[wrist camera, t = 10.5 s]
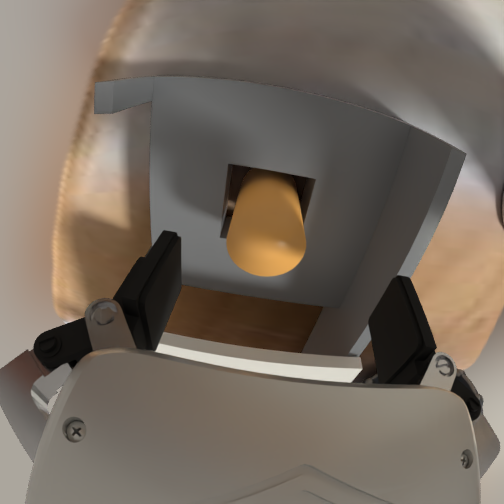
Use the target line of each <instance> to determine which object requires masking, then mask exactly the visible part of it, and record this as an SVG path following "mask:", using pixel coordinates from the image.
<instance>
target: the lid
mask: <svg viewBox="0 0 504 504" xmlns="http://www.w3.org/2000/svg"><path fill="white" fill-rule="evenodd" d="M155 352H158V353H163V354H168V355H172V356H177V357H181V358H185V359H190V360H195V361H199V362H204V363H209V364H214V365H219V366H224V367H229V368H235V369H240V370H246V371H252V372H258V373H265V374H272V375H279V376H286V377H294V378H303V379H312V380H323V381H335V382H349V383H351V382H352V381H353V380H354V378H355V377H356V376H357V375H358V374H359V372H360V371H361V370H362V369H363V368H362V363H361V358H360V357H343V356H327V355H314V354H303V353H293V352H283V351H275V350H266V349H259V348H251V347H244V346H238V345H231V344H225V343H219V342H213V341H207V340H202V339H196V338H191V337H186V336H181V335H176V334H171V333H167V332H163V334H162V337H161V339H160V342H159V344H158V347H157V349H156V351H155Z"/></svg>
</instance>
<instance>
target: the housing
mask: <svg viewBox="0 0 504 504" xmlns="http://www.w3.org/2000/svg"><path fill="white" fill-rule="evenodd" d="M150 101H152V110H151V129H150V219H151V238H152V246H153V245H154V243H155V242H156V240H157V239H158V237H159V236H160V234H161V233H162V232H163V230H167V231H172V232H177V234H178V236H180V237H181V269H182V285H186V286H192V287H197V288H203V289H209V290H215V291H220V292H226V293H232V294H239V295H245V296H251V297H258V298H264V299H271V300H278V301H285V302H292V303H300V304H307V305H315V306H323V309H322V311H321V313H320V316H319V318H318V320H317V322H316V324H315V326H314V328H313V330H312V332H311V334H310V336H309V338H308V340H307V342H306V344H305V346H304V348H303V350H302V352H301V353H303V354H314V355H327V356H343V357H359V356H360V354H361V353H362V352H363V350H364V349H365V348H366V346H367V345H368V343H369V342H370V341H371V336H370V331H369V326H368V320H369V317H370V315H371V314H372V312H373V310H374V309H375V307H376V306H377V304H378V302H379V301H380V299H381V297H382V295H383V294H384V292H385V290H386V289H387V287H388V285H389V283H390V282H391V280H392V278H394V277H396V276H397V275H401V276H406V277H409V278H411V276H412V274H413V273H414V271H415V269H416V267H417V266H418V264H419V262H420V260H421V258H422V256H423V254H424V252H425V250H426V249H427V247H428V245H429V243H430V241H431V239H432V237H433V234H434V232H435V230H436V228H437V226H438V224H439V222H440V220H441V217H442V215H443V213H444V211H445V208H446V206H447V204H448V201H449V199H450V197H451V194H452V192H453V189H454V187H455V184H456V182H457V179H458V176H459V174H460V171H461V168H462V165H463V162H464V160H465V157H466V153H464V152H463V151H461V150H459V149H458V148H456V147H454V146H452V145H450V144H449V143H447V142H445V141H443V140H441V139H439V138H437V137H435V136H433V135H432V134H430V133H428V132H425V131H423V130H421V129H419V128H417V127H415V126H413V125H411V124H409V123H406V122H404V121H402V120H399V119H396V118H394V117H391V116H388V115H385V114H383V113H380V112H377V111H374V110H371V109H368V108H365V107H361V106H358V105H355V104H352V103H348V102H345V101H341V100H338V99H334V98H330V97H326V96H322V95H318V94H314V93H310V92H305V91H301V90H296V89H291V88H286V87H280V86H275V85H269V84H263V83H256V82H249V81H241V80H232V79H223V78H211V77H196V76H144V77H133V78H124V79H116V80H108V81H102V82H96V83H95V99H94V114H112V113H115V112H118V111H121V110H124V109H127V108H130V107H133V106H137V105H140V104H143V103H147V102H150ZM233 164H234V165H241V166H247V167H254V168H260V169H266V170H271V171H277V172H282V173H288V174H293V175H298V176H303V177H307V178H306V182H305V186H304V190H303V194H302V198H301V202H300V209H301V214H302V220H303V226H304V232H305V238H306V250H305V253H304V256H303V258H302V259H301V261H300V262H299V263H298V264H297V265H296V266H295V267H294V268H293V269H291V270H290V271H288V272H286V273H284V274H281V275H277V276H269V277H265V276H257V275H253V274H250V273H248V272H246V271H244V270H242V269H241V268H239V267H238V266H237V265H236V264H235V263H234V262H233V260H232V259H231V257H230V256H229V253H228V250H227V245H226V240H227V235H228V231H229V227H230V223H231V220H232V217H227V216H226V213H227V205H228V197H229V189H230V181H231V174H232V166H233ZM152 246H151V248H152ZM151 248H150V249H151ZM150 249H149V251H150ZM149 251H148V252H149ZM147 254H148V253H147ZM147 254H146V255H147ZM145 257H146V256H145Z"/></svg>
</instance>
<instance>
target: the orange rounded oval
mask: <svg viewBox="0 0 504 504" xmlns="http://www.w3.org/2000/svg"><path fill="white" fill-rule="evenodd" d="M226 245H227V250H228V253H229V256H230V257H231V259H232V260H233V262H234V263H235V264H236V265H237V266H238V267H239V268H241V269H242V270H244V271H246V272H248V273H250V274H253V275H257V276H265V277H269V276H277V275H281V274H284V273H286V272H288V271H290V270H291V269H293V268H294V267H295V266H296V265H297V264H298V263H299V262H300V261H301V259H302V258H303V256H304V253H305V250H306V238H305V232H304V226H303V220H302V214H301V209H300V203H299V198H298V193H297V187H296V183H295V181H294V179H293V177H292V176H291V174H288V173H282V172H277V171H271V170H266V169H260V168H253V169H251V170H250V171H249V172H248V173H247V174H246V175H245V177H244V178H243V180H242V183H241V187H240V190H239V194H238V198H237V201H236V205H235V209H234V212H233V216H232V220H231V223H230V227H229V231H228V235H227V240H226Z"/></svg>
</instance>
